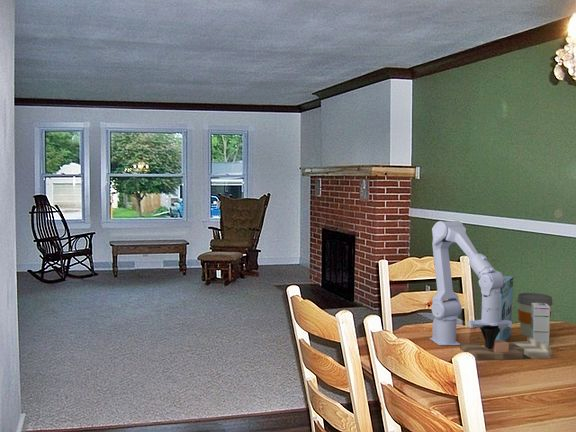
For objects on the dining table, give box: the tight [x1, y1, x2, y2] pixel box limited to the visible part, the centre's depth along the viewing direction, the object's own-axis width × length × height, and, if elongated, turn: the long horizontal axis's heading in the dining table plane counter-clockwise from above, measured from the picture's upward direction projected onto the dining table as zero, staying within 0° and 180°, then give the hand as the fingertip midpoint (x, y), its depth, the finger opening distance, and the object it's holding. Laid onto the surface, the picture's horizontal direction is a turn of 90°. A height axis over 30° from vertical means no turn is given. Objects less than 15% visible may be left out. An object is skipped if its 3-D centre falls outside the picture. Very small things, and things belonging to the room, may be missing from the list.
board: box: [459, 336, 552, 361], centre depth 216 cm, size 14×26×4 cm, turn 98°
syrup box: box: [530, 303, 551, 347], centre depth 230 cm, size 6×6×14 cm
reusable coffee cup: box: [516, 292, 553, 337], centre depth 243 cm, size 13×13×15 cm
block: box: [491, 340, 509, 352], centre depth 213 cm, size 4×4×3 cm
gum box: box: [495, 275, 514, 342], centre depth 232 cm, size 20×5×23 cm, turn 149°
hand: (489, 348), depth 212 cm, fingers closed
